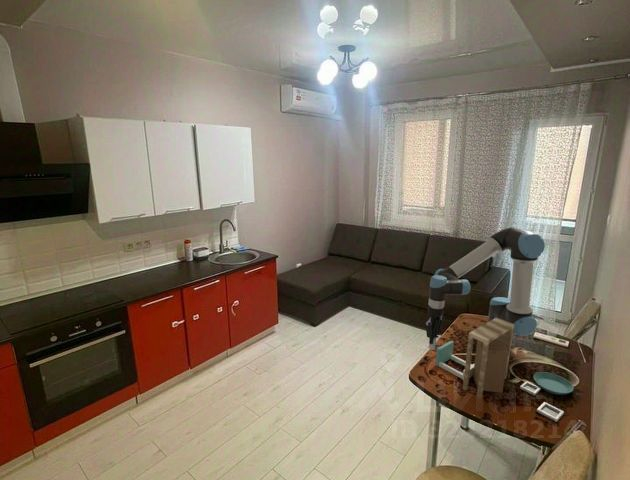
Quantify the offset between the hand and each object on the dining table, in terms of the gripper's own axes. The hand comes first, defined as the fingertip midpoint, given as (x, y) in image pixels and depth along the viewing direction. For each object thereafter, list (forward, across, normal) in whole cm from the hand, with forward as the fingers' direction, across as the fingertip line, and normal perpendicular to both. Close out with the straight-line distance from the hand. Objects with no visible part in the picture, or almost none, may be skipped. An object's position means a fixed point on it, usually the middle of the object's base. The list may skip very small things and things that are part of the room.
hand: (431, 348), depth 176 cm
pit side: (+4, -12, +42) cm, 44 cm away
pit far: (+4, -3, +53) cm, 53 cm away
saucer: (+4, -22, +47) cm, 52 cm away
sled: (+4, 0, +14) cm, 15 cm away
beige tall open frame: (+4, 0, +28) cm, 28 cm away
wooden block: (+4, 0, +29) cm, 29 cm away
